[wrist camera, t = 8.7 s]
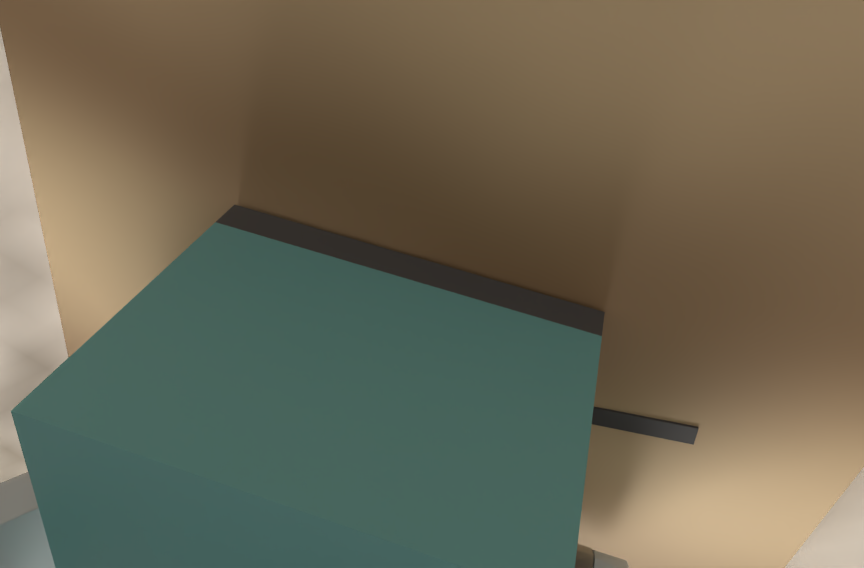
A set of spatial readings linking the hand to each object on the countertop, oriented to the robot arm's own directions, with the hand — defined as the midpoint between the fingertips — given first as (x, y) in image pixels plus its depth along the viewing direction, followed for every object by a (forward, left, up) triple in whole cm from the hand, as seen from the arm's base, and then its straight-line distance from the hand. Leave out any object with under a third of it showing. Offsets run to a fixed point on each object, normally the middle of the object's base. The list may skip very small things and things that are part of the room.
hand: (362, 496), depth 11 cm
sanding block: (0, 0, -1) cm, 1 cm away
